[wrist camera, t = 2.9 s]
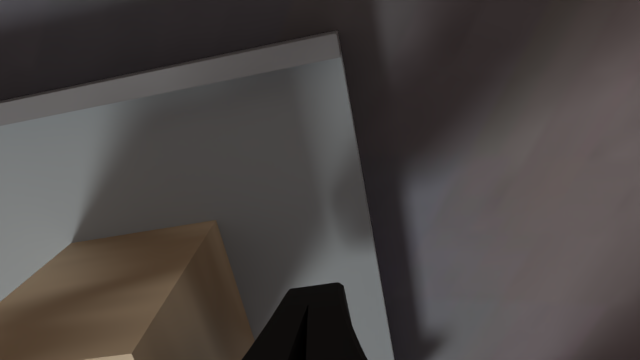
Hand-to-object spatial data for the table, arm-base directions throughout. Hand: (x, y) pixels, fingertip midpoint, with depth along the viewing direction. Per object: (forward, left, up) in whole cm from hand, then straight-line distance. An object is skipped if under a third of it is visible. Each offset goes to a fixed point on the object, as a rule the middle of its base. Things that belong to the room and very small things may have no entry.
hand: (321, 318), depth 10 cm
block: (+5, 0, -2) cm, 5 cm away
